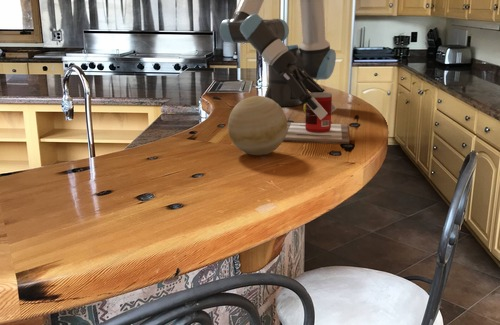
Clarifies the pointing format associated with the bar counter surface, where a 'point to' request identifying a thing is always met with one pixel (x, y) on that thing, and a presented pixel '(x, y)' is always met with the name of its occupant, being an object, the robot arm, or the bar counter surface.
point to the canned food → (312, 119)
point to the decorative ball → (257, 125)
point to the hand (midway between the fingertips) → (328, 113)
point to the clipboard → (316, 134)
